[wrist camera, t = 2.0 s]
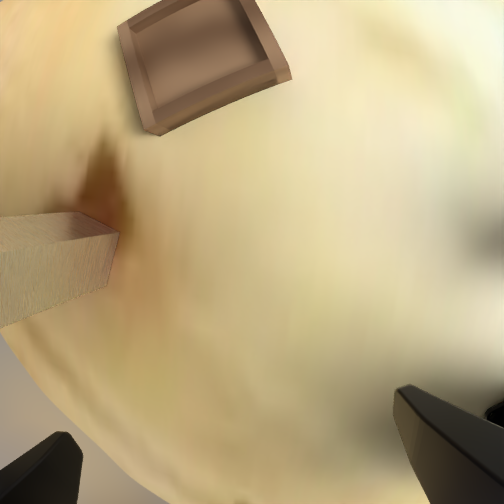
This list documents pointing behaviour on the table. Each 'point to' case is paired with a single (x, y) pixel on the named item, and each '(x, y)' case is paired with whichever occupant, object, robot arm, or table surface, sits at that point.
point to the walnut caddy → (198, 58)
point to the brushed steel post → (51, 261)
